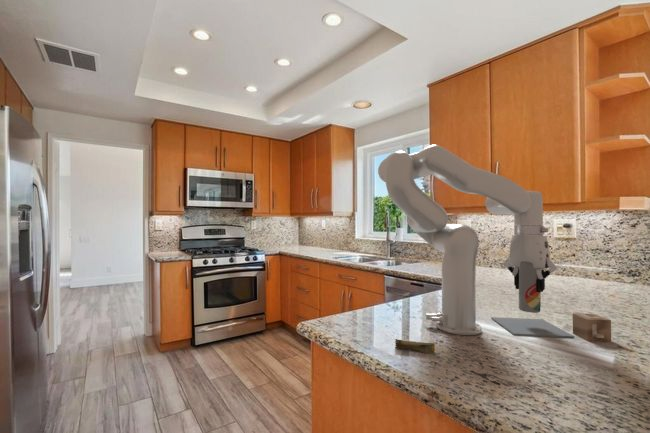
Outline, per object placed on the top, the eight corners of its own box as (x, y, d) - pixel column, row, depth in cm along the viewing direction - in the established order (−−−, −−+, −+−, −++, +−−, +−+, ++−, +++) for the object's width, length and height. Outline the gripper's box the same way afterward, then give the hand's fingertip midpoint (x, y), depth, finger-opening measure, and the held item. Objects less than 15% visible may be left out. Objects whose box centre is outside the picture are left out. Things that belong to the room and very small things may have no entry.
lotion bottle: (544, 313, 95) (544, 246, 95) (522, 312, 96) (523, 246, 97) (535, 308, 101) (535, 245, 101) (515, 307, 102) (516, 244, 102)
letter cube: (587, 341, 87) (587, 319, 87) (572, 333, 93) (572, 312, 93) (611, 342, 87) (611, 319, 87) (595, 334, 93) (594, 313, 93)
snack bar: (434, 354, 78) (434, 341, 79) (434, 356, 77) (434, 344, 77) (394, 349, 81) (394, 337, 81) (394, 351, 80) (394, 339, 80)
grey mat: (513, 335, 91) (513, 333, 91) (491, 318, 107) (491, 317, 107) (574, 338, 90) (574, 336, 90) (542, 320, 106) (542, 319, 106)
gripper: (565, 231, 94) (566, 293, 94) (505, 230, 108) (506, 284, 108) (555, 232, 90) (556, 297, 90) (494, 230, 104) (494, 287, 104)
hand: (529, 289), depth 99 cm, fingers closed on lotion bottle, 5 cm apart
